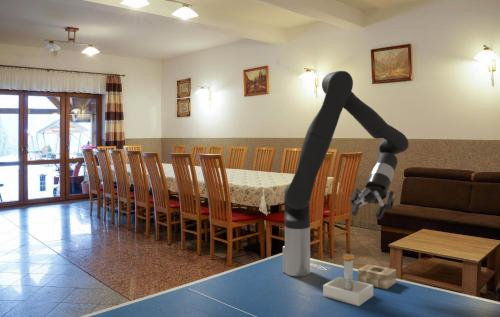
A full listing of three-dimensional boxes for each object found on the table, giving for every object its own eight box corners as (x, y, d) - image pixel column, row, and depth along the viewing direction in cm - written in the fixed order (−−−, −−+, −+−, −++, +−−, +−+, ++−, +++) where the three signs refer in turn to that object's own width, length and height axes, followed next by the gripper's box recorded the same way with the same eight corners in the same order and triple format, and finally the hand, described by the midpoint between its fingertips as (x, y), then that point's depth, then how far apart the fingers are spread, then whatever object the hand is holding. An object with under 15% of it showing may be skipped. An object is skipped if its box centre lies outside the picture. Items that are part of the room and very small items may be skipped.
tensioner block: (358, 282, 142) (358, 269, 142) (368, 276, 148) (368, 263, 148) (386, 289, 136) (386, 275, 135) (396, 282, 142) (396, 269, 141)
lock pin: (340, 294, 130) (340, 255, 129) (345, 291, 133) (345, 253, 132) (350, 297, 128) (350, 257, 127) (355, 293, 131) (355, 255, 130)
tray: (323, 296, 130) (323, 285, 130) (338, 287, 138) (338, 276, 138) (358, 306, 123) (358, 294, 122) (373, 295, 130) (373, 284, 130)
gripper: (358, 170, 149) (342, 207, 141) (397, 173, 140) (383, 211, 132) (364, 184, 153) (349, 220, 145) (403, 187, 144) (389, 225, 136)
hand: (365, 216), depth 139 cm, fingers open, 8 cm apart
